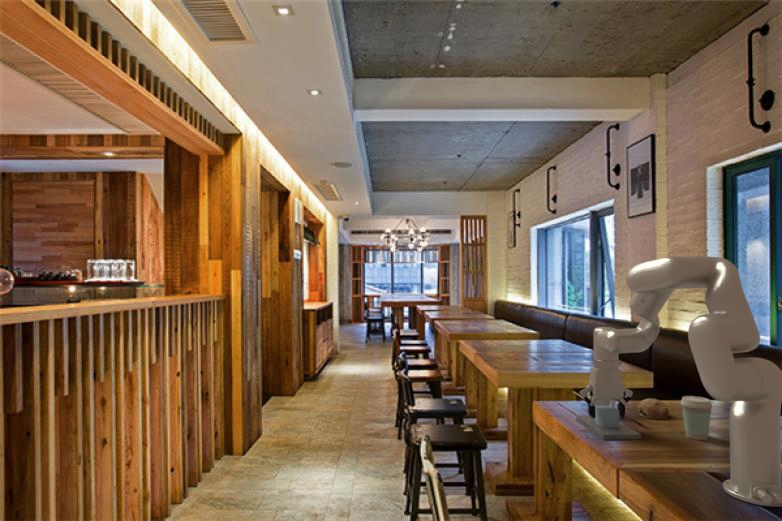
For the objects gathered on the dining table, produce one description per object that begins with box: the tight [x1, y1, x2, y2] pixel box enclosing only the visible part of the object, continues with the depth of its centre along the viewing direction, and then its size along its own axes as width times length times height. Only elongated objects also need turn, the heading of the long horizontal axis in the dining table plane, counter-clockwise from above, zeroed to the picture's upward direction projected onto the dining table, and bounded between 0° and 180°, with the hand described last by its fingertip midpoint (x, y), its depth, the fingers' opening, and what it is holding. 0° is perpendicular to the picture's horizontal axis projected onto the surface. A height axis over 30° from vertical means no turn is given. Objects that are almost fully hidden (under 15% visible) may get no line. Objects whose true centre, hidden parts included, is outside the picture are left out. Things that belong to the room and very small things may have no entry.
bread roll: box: [637, 398, 670, 420], centre depth 179 cm, size 10×10×8 cm
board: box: [576, 415, 642, 441], centre depth 163 cm, size 20×12×2 cm, turn 2°
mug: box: [586, 383, 616, 408], centre depth 180 cm, size 11×8×10 cm
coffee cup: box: [680, 395, 713, 441], centre depth 155 cm, size 8×8×12 cm
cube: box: [595, 406, 620, 428], centre depth 163 cm, size 6×6×6 cm
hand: (606, 416), depth 163 cm, fingers open, 9 cm apart
